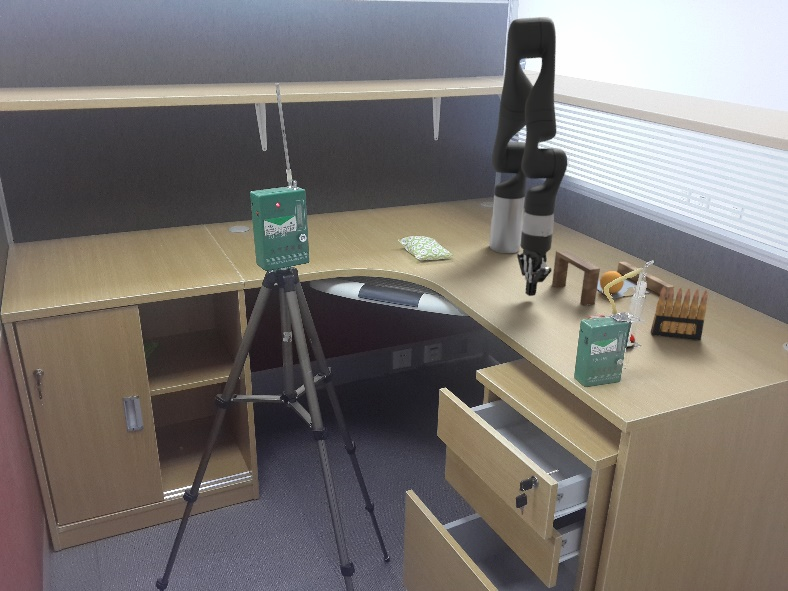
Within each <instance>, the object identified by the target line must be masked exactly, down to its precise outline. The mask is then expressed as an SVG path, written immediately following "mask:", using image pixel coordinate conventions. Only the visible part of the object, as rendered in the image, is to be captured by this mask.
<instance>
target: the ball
mask: <svg viewBox="0 0 788 591" xmlns="http://www.w3.org/2000/svg"><path fill="white" fill-rule="evenodd" d="M619 277H623V275H622V274H620V273H618V272H617V271H616V270H615V271H614V270H610V271H609V270H608V271H606V272H604V273H603V274H602V275H601V277H600V278H599V280H600V286H601V288H602V289H603V290H604V287H605V286H606V285H607V284H608V283H610V282H612V281H613V280H615V279H617V278H619ZM623 284H624V280H623V281H621V282H619V283H617V284H615V285H613V286H612V287H610V288H609V293H610V294H614V293H617V292H619V291H620V290H621V289H622V287H623Z"/></svg>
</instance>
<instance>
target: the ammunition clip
mask: <svg viewBox="0 0 788 591" xmlns="http://www.w3.org/2000/svg"><path fill="white" fill-rule="evenodd" d="M674 290H675V287H674V288H673V287H672V288H671V289H670V291H669V294H668V298H665V295H666V289H665V286H664V287H663V288H662V290H661V293H660V294H659V297H658V300H657V304H656V309H655V313H654V315H653V316H654V317H653V321H652V324H651V330H650V334H651V336H652V337H653V336H655V337H663V338H664V337H665V338H671V339H682V340H692V341H702V336H703V330H704V324H705V317H706V311H707V304H708V303H707V302H708V290H707V289H705V290H704V292H703V294H702V296H701V299H700V298H699V297H700V293H699V292H700V291H699V289H696V290H695V292H694V294H693V297H692V300H691V288H687V290H686V292H685V295H684V298H683V289H682V287H680V288H679V289H678V291H677V292H676V297H675V299H674V296H675V291H674ZM682 299H683V301H682ZM699 299H700V301H699ZM690 301H691V304H690ZM699 302H700V303H699ZM698 305H699V306H698Z"/></svg>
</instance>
